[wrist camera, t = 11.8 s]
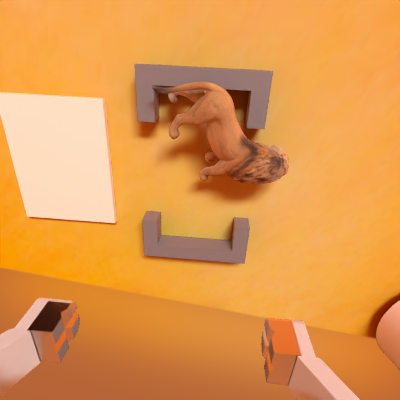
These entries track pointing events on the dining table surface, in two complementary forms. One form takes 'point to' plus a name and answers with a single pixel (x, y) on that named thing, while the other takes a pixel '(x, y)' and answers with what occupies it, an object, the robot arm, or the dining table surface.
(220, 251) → the grey bracket pair
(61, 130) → the ceramic tile
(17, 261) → the dining table surface
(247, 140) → the lion figurine
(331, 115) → the dining table surface
